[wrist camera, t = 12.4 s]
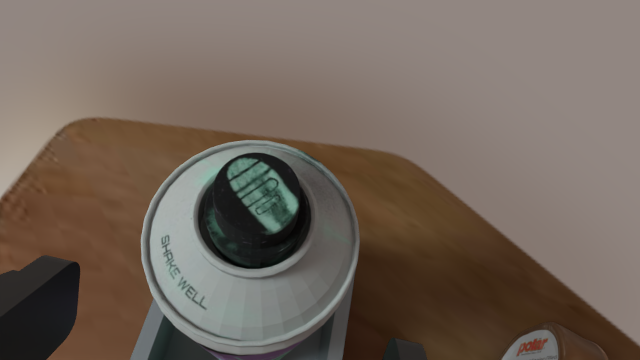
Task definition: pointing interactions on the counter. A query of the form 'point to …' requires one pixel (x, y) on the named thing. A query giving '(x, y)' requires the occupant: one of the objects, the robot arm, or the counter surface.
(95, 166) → the counter surface
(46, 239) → the counter surface
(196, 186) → the spray can
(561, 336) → the tin
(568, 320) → the counter surface
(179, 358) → the box
